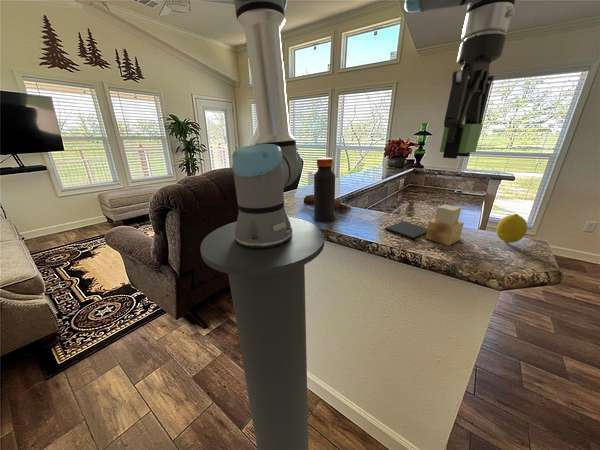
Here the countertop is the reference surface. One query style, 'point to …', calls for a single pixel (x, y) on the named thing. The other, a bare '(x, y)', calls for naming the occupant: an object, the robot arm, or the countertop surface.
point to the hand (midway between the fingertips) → (456, 156)
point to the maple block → (444, 232)
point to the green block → (465, 138)
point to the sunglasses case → (337, 205)
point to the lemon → (511, 228)
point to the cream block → (447, 214)
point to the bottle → (324, 190)
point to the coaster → (407, 229)
